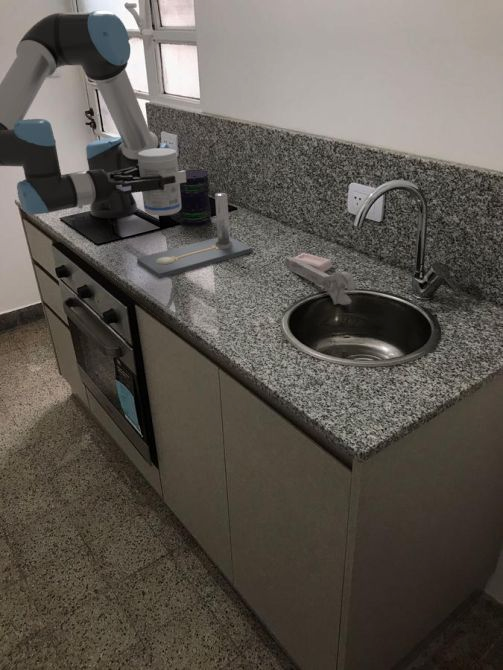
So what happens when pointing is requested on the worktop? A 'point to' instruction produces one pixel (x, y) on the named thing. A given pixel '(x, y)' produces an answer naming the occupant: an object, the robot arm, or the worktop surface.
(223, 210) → the steel pin
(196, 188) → the storage jar
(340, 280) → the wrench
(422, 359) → the worktop surface
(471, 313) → the worktop surface
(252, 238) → the worktop surface
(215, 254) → the board
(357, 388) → the worktop surface
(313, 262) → the soap bar
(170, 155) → the supplement tub
